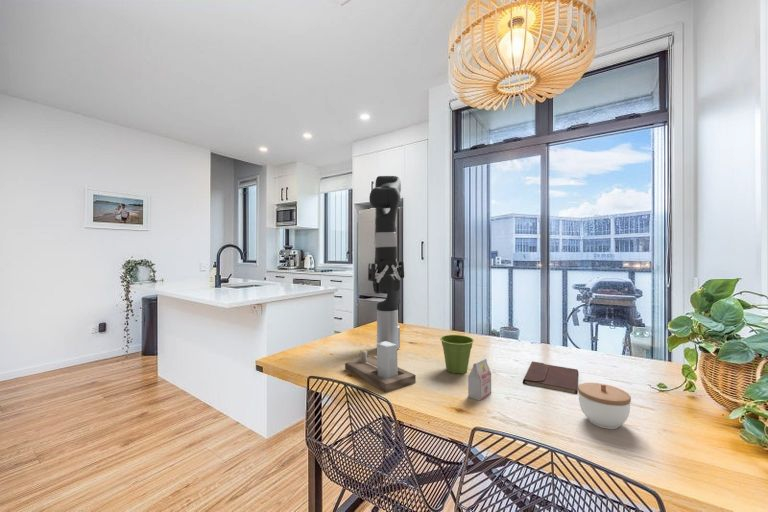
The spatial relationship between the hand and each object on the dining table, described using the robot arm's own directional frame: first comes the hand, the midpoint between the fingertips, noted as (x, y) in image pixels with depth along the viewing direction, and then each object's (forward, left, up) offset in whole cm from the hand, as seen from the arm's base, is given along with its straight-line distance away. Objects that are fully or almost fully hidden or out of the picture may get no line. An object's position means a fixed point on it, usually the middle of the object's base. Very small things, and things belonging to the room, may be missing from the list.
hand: (387, 292), depth 113 cm
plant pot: (-21, +14, -28) cm, 38 cm away
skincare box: (+4, +6, -28) cm, 29 cm away
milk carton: (-11, +31, -28) cm, 43 cm away
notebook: (-40, +37, -29) cm, 62 cm away
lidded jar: (-22, +59, -28) cm, 69 cm away
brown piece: (+4, +1, -28) cm, 28 cm away
